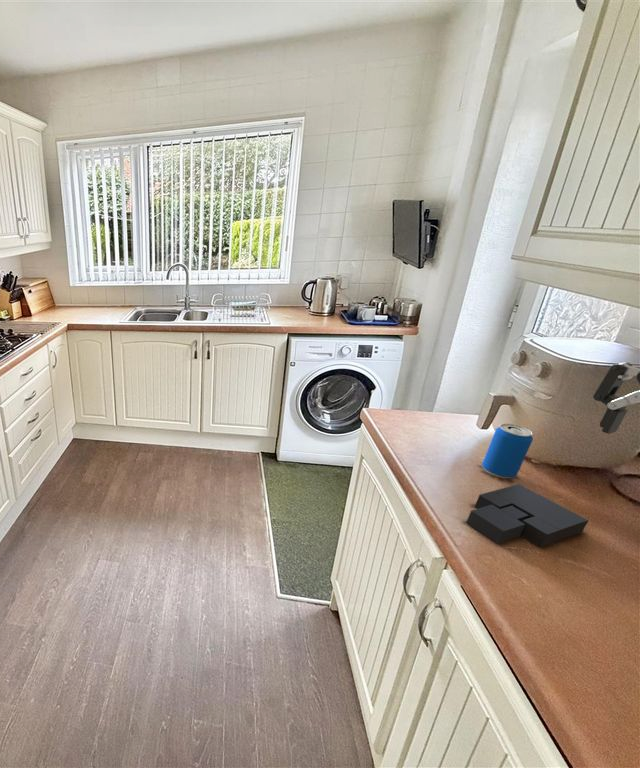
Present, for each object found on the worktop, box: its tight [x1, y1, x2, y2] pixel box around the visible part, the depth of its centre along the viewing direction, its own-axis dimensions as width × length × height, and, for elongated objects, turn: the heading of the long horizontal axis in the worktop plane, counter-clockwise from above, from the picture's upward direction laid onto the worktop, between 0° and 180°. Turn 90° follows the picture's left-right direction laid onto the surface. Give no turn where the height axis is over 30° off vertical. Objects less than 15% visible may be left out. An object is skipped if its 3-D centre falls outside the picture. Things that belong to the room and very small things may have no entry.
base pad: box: [474, 483, 589, 548], centre depth 83 cm, size 12×12×3 cm
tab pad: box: [465, 505, 529, 545], centre depth 81 cm, size 9×6×3 cm, turn 107°
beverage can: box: [481, 423, 534, 479], centre depth 95 cm, size 6×6×12 cm
